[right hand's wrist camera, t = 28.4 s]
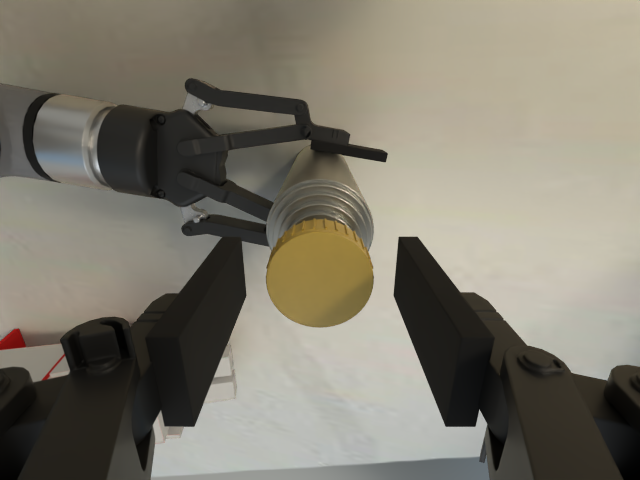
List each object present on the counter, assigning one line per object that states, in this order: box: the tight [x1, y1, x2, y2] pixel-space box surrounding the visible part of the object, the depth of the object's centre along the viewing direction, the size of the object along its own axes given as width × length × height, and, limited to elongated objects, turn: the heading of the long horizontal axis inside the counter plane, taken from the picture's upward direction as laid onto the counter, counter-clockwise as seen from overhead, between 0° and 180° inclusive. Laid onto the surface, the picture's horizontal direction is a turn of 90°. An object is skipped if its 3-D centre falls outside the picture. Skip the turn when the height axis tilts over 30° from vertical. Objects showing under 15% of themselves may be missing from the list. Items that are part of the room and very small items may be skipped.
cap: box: [266, 218, 374, 327], centre depth 14 cm, size 4×4×2 cm
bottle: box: [266, 145, 374, 252], centre depth 25 cm, size 6×6×25 cm
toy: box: [0, 329, 237, 444], centre depth 41 cm, size 12×13×30 cm
